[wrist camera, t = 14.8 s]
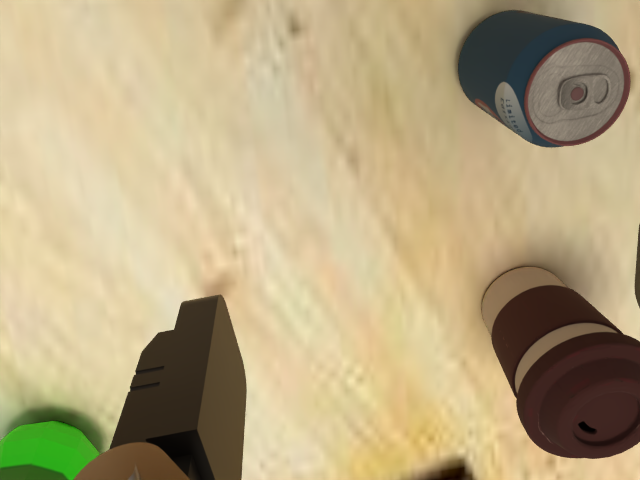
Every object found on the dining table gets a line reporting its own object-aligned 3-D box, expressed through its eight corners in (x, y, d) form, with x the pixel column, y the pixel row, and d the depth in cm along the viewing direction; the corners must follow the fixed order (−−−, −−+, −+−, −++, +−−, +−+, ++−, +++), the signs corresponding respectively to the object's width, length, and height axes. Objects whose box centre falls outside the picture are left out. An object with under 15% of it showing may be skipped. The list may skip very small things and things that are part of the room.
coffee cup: (566, 234, 49) (679, 339, 35) (583, 326, 53) (688, 451, 40) (453, 273, 50) (521, 389, 36) (478, 360, 54) (547, 494, 40)
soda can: (452, 113, 44) (512, 163, 33) (453, 14, 41) (518, 34, 30) (543, 102, 44) (632, 149, 33) (550, 3, 41) (651, 19, 30)
